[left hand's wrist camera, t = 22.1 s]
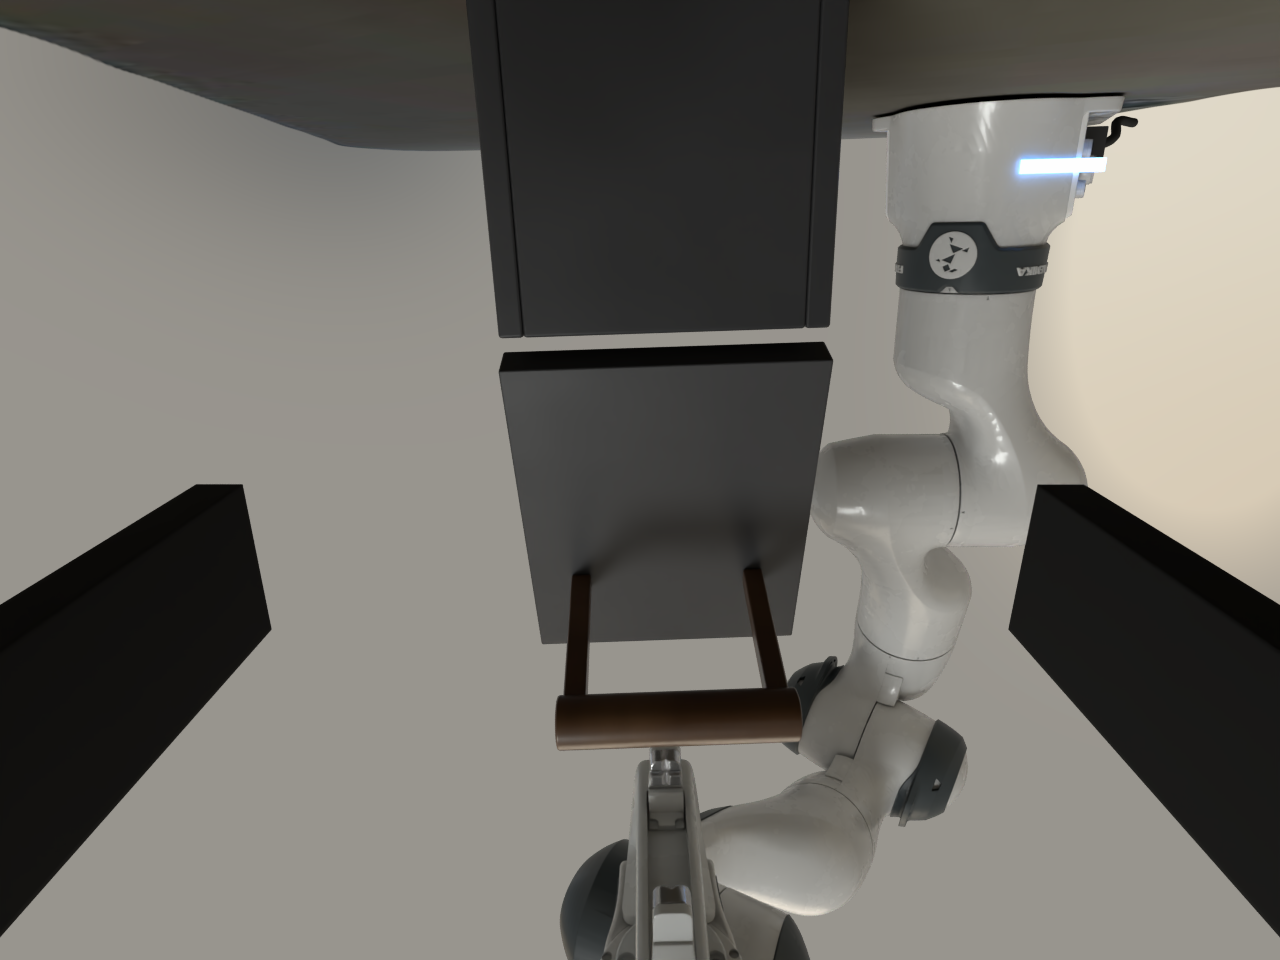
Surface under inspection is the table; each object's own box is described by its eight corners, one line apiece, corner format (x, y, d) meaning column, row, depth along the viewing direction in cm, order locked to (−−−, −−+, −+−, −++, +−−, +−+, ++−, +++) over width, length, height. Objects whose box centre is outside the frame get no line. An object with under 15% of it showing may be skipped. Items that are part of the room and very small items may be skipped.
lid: (786, 612, 30) (831, 798, 24) (544, 621, 30) (524, 809, 24) (824, 340, 23) (906, 504, 16) (503, 351, 23) (458, 519, 16)
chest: (771, 23, 29) (763, 288, 33) (519, 31, 29) (540, 295, 33) (855, -83, 18) (830, 327, 22) (458, -72, 18) (498, 338, 22)
